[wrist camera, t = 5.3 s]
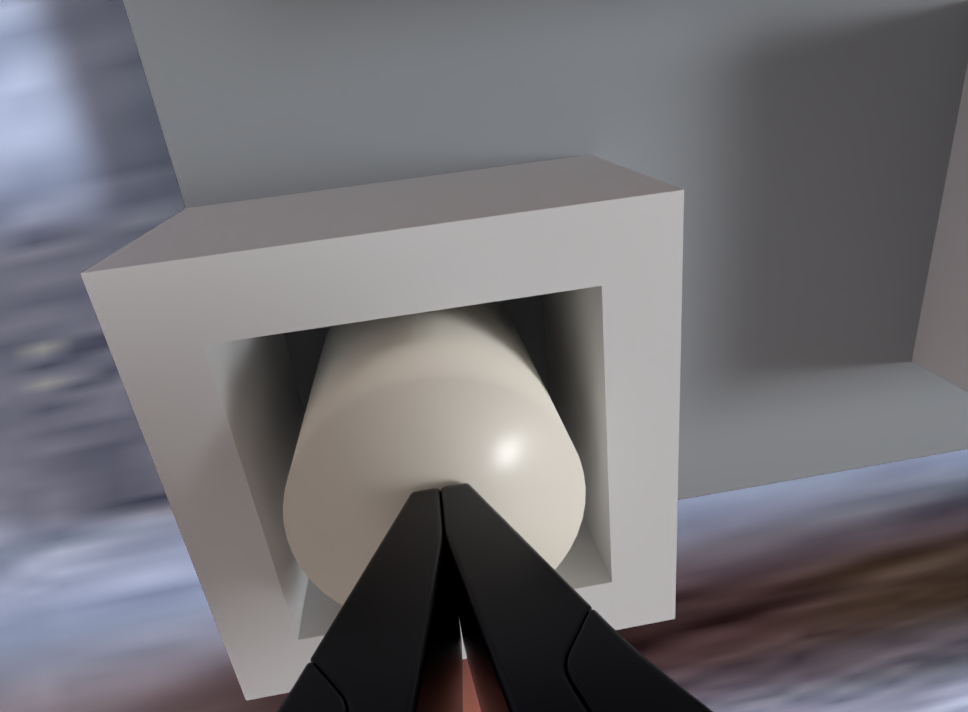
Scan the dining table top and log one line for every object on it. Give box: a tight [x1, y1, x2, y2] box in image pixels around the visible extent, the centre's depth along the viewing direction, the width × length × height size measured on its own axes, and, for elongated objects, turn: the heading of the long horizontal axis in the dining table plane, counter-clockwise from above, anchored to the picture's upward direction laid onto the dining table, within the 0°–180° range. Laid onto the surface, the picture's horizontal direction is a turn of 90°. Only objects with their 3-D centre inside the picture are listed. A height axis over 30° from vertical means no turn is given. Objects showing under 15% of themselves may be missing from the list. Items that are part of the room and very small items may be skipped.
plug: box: [283, 301, 586, 621], centre depth 11 cm, size 4×4×5 cm
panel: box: [80, 0, 968, 701], centre depth 11 cm, size 20×24×6 cm
